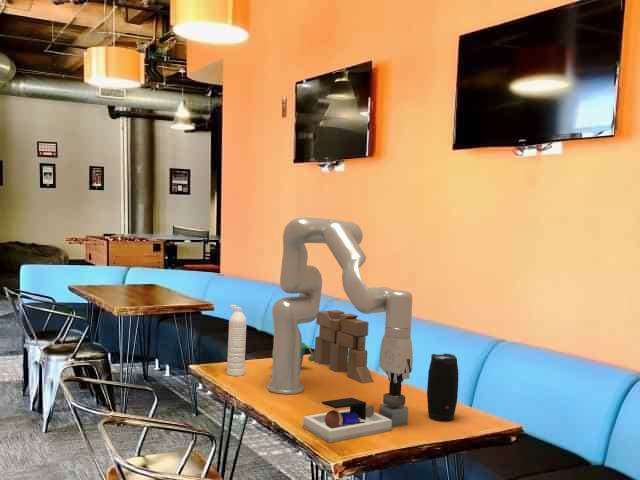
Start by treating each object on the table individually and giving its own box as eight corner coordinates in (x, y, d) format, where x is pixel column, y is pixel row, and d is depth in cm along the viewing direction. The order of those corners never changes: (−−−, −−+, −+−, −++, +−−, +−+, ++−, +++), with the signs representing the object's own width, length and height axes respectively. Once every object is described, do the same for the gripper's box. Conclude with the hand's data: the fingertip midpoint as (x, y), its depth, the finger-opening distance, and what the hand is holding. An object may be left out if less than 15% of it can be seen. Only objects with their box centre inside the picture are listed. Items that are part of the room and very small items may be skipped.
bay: (302, 427, 168) (303, 416, 168) (362, 416, 180) (363, 406, 180) (329, 442, 157) (329, 431, 157) (391, 430, 169) (391, 420, 169)
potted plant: (312, 367, 238) (313, 342, 238) (310, 374, 228) (311, 347, 227) (273, 365, 239) (274, 339, 239) (269, 371, 229) (270, 344, 228)
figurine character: (356, 422, 176) (317, 425, 166) (360, 395, 176) (321, 397, 166) (373, 428, 171) (334, 433, 161) (376, 401, 171) (337, 404, 161)
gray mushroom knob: (377, 418, 177) (378, 393, 176) (394, 415, 180) (395, 391, 180) (391, 424, 171) (393, 399, 171) (408, 421, 175) (409, 396, 175)
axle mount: (378, 420, 177) (379, 404, 176) (394, 418, 180) (394, 401, 180) (391, 427, 172) (392, 410, 171) (407, 424, 175) (408, 407, 175)
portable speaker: (456, 423, 177) (459, 360, 177) (424, 420, 179) (428, 357, 179) (456, 415, 185) (459, 354, 185) (426, 411, 188) (429, 351, 187)
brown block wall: (303, 360, 251) (305, 306, 250) (320, 358, 255) (323, 305, 255) (360, 384, 217) (363, 321, 216) (379, 381, 222) (382, 320, 221)
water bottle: (247, 375, 221) (250, 307, 221) (231, 377, 218) (234, 308, 217) (236, 369, 229) (239, 304, 228) (221, 371, 225) (223, 305, 224)
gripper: (371, 329, 179) (369, 390, 180) (405, 338, 167) (402, 403, 167) (391, 327, 183) (388, 387, 184) (425, 336, 171) (422, 400, 171)
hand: (394, 395), depth 175 cm, fingers closed
